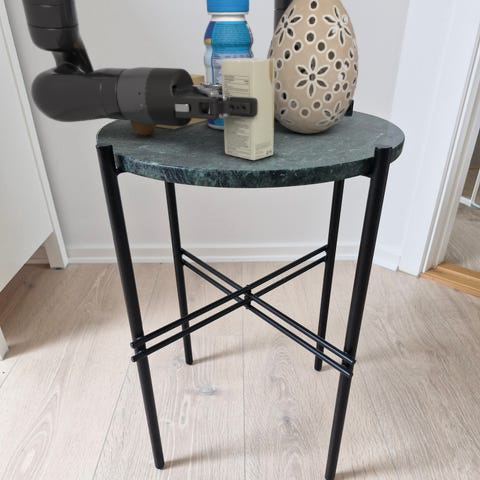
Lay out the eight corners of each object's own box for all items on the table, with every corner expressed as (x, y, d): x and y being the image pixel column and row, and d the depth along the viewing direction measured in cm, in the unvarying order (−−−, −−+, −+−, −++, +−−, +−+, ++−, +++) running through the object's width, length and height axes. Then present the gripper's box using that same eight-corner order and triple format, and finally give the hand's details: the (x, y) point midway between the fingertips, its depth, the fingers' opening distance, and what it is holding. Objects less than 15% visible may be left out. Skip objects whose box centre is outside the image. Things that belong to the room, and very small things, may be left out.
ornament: (311, 120, 85) (322, -11, 74) (368, 135, 75) (391, -14, 63) (247, 130, 79) (247, -12, 67) (300, 148, 68) (311, -16, 57)
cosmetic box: (274, 156, 65) (278, 58, 58) (253, 162, 62) (254, 61, 56) (243, 148, 69) (243, 55, 62) (222, 153, 66) (219, 57, 59)
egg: (131, 139, 74) (125, 99, 71) (133, 132, 78) (127, 94, 74) (158, 138, 74) (154, 98, 71) (159, 132, 78) (155, 93, 75)
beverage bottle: (230, 133, 77) (228, -13, 65) (197, 126, 81) (189, -11, 70) (262, 125, 82) (265, -12, 70) (229, 119, 86) (227, -10, 75)
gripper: (125, 73, 58) (246, 78, 53) (177, 62, 69) (281, 66, 64) (133, 134, 63) (246, 144, 57) (181, 115, 74) (279, 122, 68)
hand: (264, 103), depth 61 cm, fingers closed on cosmetic box, 6 cm apart
